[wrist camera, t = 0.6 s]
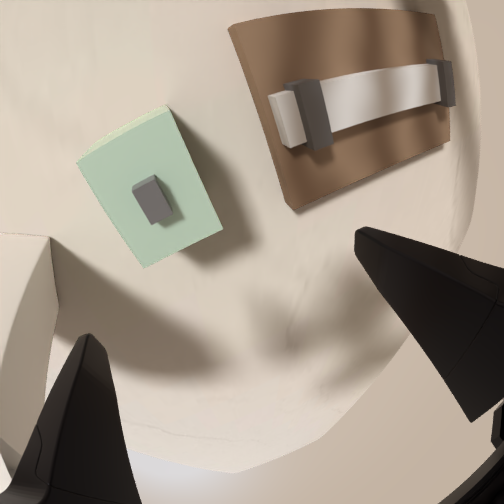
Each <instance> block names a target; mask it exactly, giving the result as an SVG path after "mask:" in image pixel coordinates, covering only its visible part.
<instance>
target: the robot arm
mask: <svg viewBox="0 0 504 504" xmlns="http://www.w3.org/2000/svg"><path fill="white" fill-rule="evenodd" d="M354 251H355V255H356V257H357V258H358V260H359V261H360V263H361V264H362V266H363V267H364V269H365V271H366V272H367V274H368V275H369V277H370V278H371V280H372V281H373V283H374V284H375V286H376V287H377V289H378V290H379V292H380V293H381V294H382V296H383V297H384V298H385V300H386V301H387V302H388V303H389V305H390V306H391V307H392V309H393V310H394V311H395V312H396V314H397V315H398V316H399V318H400V319H401V320H402V322H403V323H404V324H405V326H406V327H407V328H408V330H409V331H410V332H411V334H412V335H413V336H414V338H415V339H416V341H417V342H418V343H419V345H420V346H421V347H422V349H423V350H424V352H425V353H426V355H427V356H428V358H429V359H430V360H431V362H432V363H433V365H434V366H435V368H436V369H437V371H438V372H439V374H440V375H441V377H442V378H443V379H444V381H445V383H446V385H447V386H448V387H449V389H450V391H451V392H452V394H453V395H454V397H455V399H456V400H457V402H458V403H459V405H460V406H461V408H462V410H463V412H464V413H465V415H466V417H467V418H468V420H469V421H470V422H471V423H472V422H473V421H475V420H476V419H477V418H478V417H480V416H481V415H483V414H484V413H485V412H487V411H488V410H489V409H491V408H492V407H493V406H494V405H496V404H497V403H498V402H499V401H500V400H501V399H503V402H502V403H501V404H500V405H499V406H498V408H497V409H496V410H495V411H494V416H493V427H492V435H491V442H492V444H493V445H494V447H495V448H496V450H495V451H494V452H493V454H492V455H491V456H490V457H489V458H488V459H487V460H486V461H485V462H484V463H483V464H482V465H481V466H480V467H479V468H478V469H477V470H476V471H475V472H474V473H473V474H472V475H471V476H470V477H469V478H468V479H467V480H466V481H465V482H463V483H462V484H461V485H460V486H459V487H458V488H457V489H456V490H454V491H453V492H452V493H451V494H450V495H449V496H447V497H446V498H445V499H444V500H442V501H441V502H440V503H439V504H504V268H501V267H497V266H493V265H490V264H486V263H483V262H480V261H477V260H474V259H471V258H468V257H465V256H462V255H459V254H456V253H453V252H450V251H447V250H444V249H441V248H438V247H435V246H432V245H428V244H425V243H422V242H419V241H415V240H412V239H409V238H406V237H402V236H399V235H395V234H392V233H388V232H385V231H381V230H378V229H374V228H371V227H363V228H360V229H358V230H356V232H355V244H354ZM0 504H142V502H141V499H140V497H139V494H138V490H137V487H136V484H135V480H134V477H133V473H132V469H131V466H130V462H129V458H128V454H127V450H126V445H125V440H124V436H123V431H122V426H121V420H120V415H119V409H118V403H117V397H116V392H115V387H114V383H113V379H112V374H111V370H110V365H109V360H108V355H107V352H106V350H105V348H104V347H103V346H102V345H101V343H100V342H99V341H98V340H97V339H96V338H95V337H94V336H93V335H92V334H90V333H88V334H85V335H82V336H80V337H79V338H78V340H77V342H76V343H75V345H74V347H73V349H72V351H71V352H70V354H69V356H68V358H67V360H66V362H65V364H64V365H63V367H62V369H61V371H60V373H59V375H58V377H57V379H56V381H55V383H54V385H53V387H52V389H51V391H50V393H49V396H48V398H47V400H46V402H45V404H44V406H43V409H42V411H41V413H40V415H39V418H38V420H37V424H36V425H35V427H34V429H33V432H32V434H31V437H30V439H29V441H28V444H27V446H26V448H25V451H24V453H23V455H22V457H21V460H20V462H19V464H18V466H17V469H16V471H15V473H14V476H13V478H12V480H11V483H10V484H9V486H8V487H7V488H6V490H4V491H3V492H2V493H0Z"/></svg>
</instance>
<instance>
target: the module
mask: <svg viewBox="0 0 504 504" xmlns="http://www.w3.org/2000/svg"><path fill="white" fill-rule="evenodd" d="M76 164H77V165H78V167H79V169H80V171H81V172H82V174H83V176H84V178H85V179H86V181H87V183H88V184H89V186H90V188H91V190H92V191H93V193H94V194H95V196H96V198H97V199H98V201H99V203H100V204H101V206H102V207H103V209H104V211H105V212H106V214H107V215H108V217H109V218H110V220H111V222H112V223H113V225H114V226H115V228H116V229H117V231H118V232H119V234H120V235H121V237H122V238H123V240H124V241H125V242H126V244H127V245H128V247H129V248H130V250H131V251H132V253H133V254H134V255H135V257H136V258H137V260H138V261H139V262H140V264H141V265H142V267H143V268H146V267H148V266H150V265H152V264H154V263H156V262H158V261H160V260H162V259H164V258H166V257H168V256H170V255H172V254H174V253H176V252H178V251H180V250H182V249H184V248H186V247H188V246H190V245H192V244H194V243H196V242H198V241H200V240H202V239H204V238H206V237H208V236H210V235H212V234H214V233H216V232H218V231H220V230H222V229H223V227H222V225H221V223H220V221H219V218H218V216H217V214H216V212H215V210H214V207H213V205H212V203H211V201H210V199H209V197H208V194H207V192H206V190H205V188H204V186H203V183H202V181H201V179H200V177H199V174H198V172H197V170H196V168H195V166H194V163H193V161H192V159H191V157H190V154H189V152H188V150H187V148H186V145H185V143H184V141H183V139H182V136H181V134H180V132H179V130H178V127H177V125H176V123H175V121H174V118H173V116H172V114H171V111H170V110H169V108H168V107H167V106H166V104H165V105H163V106H161V107H159V108H157V109H155V110H152V111H150V112H148V113H146V114H144V115H142V116H141V117H139V118H137V119H135V120H133V121H131V122H129V123H127V124H125V125H124V126H122V127H120V128H118V129H116V130H115V131H113V132H111V133H110V134H108V135H106V136H104V137H103V138H101V139H99V140H98V141H96V142H95V143H94V144H93V145H92V146H91V147H90V148H89V149H88V150H87V151H86V152H85V153H84V155H83V156H82V157H81V158H80V159H79V160H78V161H77V162H76Z"/></svg>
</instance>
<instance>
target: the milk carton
mask: <svg viewBox="0 0 504 504" xmlns="http://www.w3.org/2000/svg"><path fill="white" fill-rule="evenodd" d="M58 311H59V303H58V298H57V292H56V286H55V280H54V273H53V265H52V257H51V247H50V238H49V237H46V236H35V235H21V234H8V233H0V493H2V492H3V491H4V490H6V488H7V487H8V486H9V484H10V483H11V480H12V478H13V476H14V473H15V471H16V469H17V466H18V464H19V462H20V460H21V457H22V455H23V453H24V451H25V448H26V446H27V444H28V441H29V439H30V437H31V434H32V432H33V429H34V427H35V425H36V424H37V420H38V418H39V415H40V413H41V411H42V409H43V406H44V401H45V389H46V380H47V372H48V364H49V358H50V351H51V345H52V340H53V335H54V330H55V325H56V320H57V316H58Z"/></svg>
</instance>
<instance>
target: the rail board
mask: <svg viewBox="0 0 504 504" xmlns="http://www.w3.org/2000/svg"><path fill="white" fill-rule="evenodd" d="M228 31H229V34H230V37H231V39H232V42H233V44H234V47H235V50H236V52H237V55H238V58H239V61H240V63H241V66H242V69H243V72H244V74H245V77H246V80H247V83H248V86H249V89H250V91H251V94H252V97H253V100H254V103H255V106H256V109H257V112H258V115H259V118H260V121H261V124H262V127H263V130H264V133H265V137H266V140H267V143H268V146H269V149H270V152H271V156H272V159H273V162H274V165H275V169H276V172H277V175H278V179H279V182H280V185H281V189H282V192H283V195H284V199H285V202H286V203H287V204H288V205H289V206H290V207H291V208H292V209H293V210H295V209H297V208H299V207H302V206H304V205H306V204H308V203H310V202H312V201H315V200H317V199H319V198H321V197H323V196H325V195H328V194H330V193H332V192H334V191H336V190H339V189H341V188H343V187H345V186H347V185H350V184H352V183H354V182H356V181H359V180H361V179H363V178H365V177H368V176H370V175H372V174H374V173H377V172H379V171H381V170H383V169H386V168H388V167H390V166H392V165H395V164H397V163H399V162H402V161H404V160H406V159H409V158H411V157H413V156H415V155H418V154H420V153H422V152H425V151H427V150H430V149H432V148H434V147H437V146H439V145H441V144H444V143H446V142H448V141H450V117H449V107H452V106H456V105H455V91H454V80H453V72H452V64H451V61H445V60H444V57H443V51H442V46H441V41H440V36H439V31H438V27H437V22H436V18H435V15H433V14H427V13H420V12H412V11H403V10H391V9H370V8H347V9H326V10H313V11H303V12H295V13H288V14H281V15H275V16H269V17H264V18H259V19H254V20H250V21H245V22H241V23H237V24H233V25H232V26H231V27H229V28H228Z"/></svg>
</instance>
